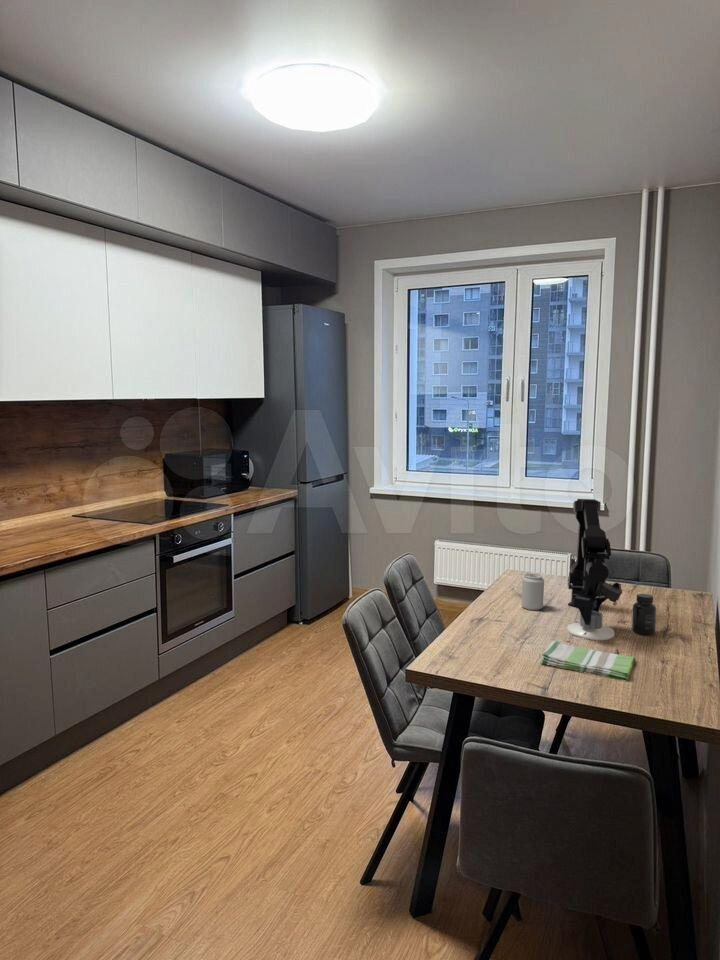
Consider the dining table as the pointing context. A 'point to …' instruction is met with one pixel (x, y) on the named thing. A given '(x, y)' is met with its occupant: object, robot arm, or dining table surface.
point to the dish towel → (588, 661)
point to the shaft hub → (590, 632)
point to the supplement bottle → (644, 615)
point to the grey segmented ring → (593, 621)
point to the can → (532, 591)
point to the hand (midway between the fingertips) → (590, 622)
